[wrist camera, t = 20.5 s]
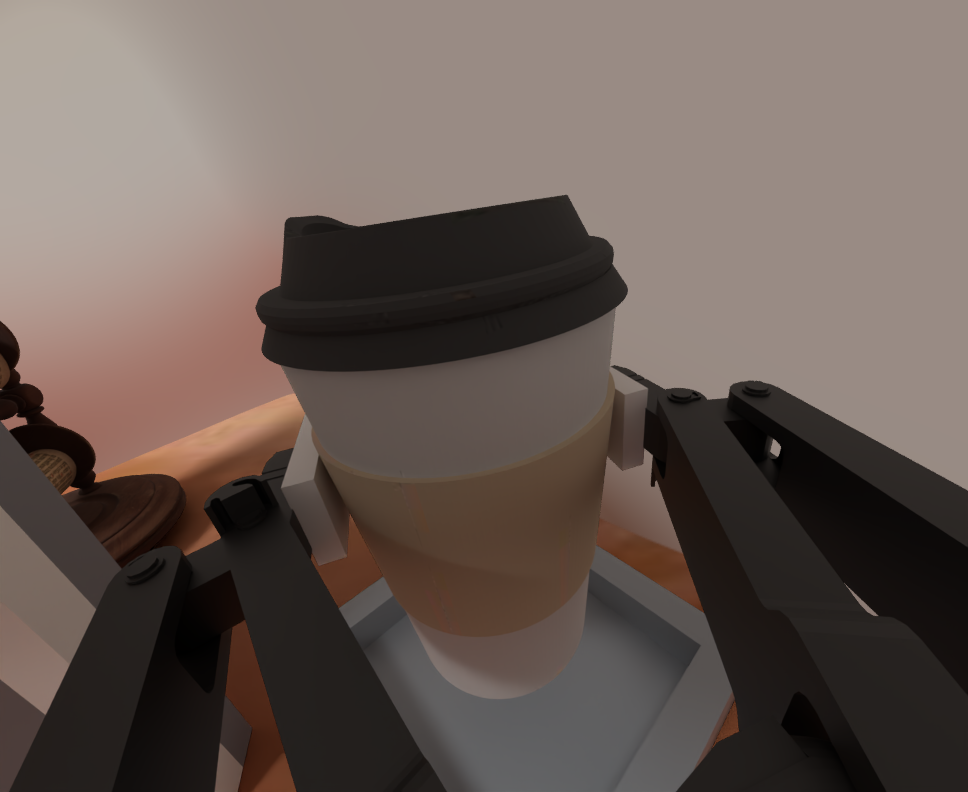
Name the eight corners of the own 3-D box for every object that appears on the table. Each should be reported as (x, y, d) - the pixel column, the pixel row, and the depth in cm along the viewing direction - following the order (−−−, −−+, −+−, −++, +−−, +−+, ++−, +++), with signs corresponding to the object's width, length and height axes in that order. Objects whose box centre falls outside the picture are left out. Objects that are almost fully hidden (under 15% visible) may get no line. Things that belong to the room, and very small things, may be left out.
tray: (503, 1184, 9) (487, 1191, 8) (306, 680, 20) (285, 646, 18) (742, 684, 17) (754, 645, 16) (510, 519, 28) (506, 487, 26)
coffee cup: (595, 517, 19) (592, 175, 12) (647, 749, 11) (720, 129, 4) (422, 522, 20) (334, 217, 14) (355, 733, 12) (64, 241, 6)
